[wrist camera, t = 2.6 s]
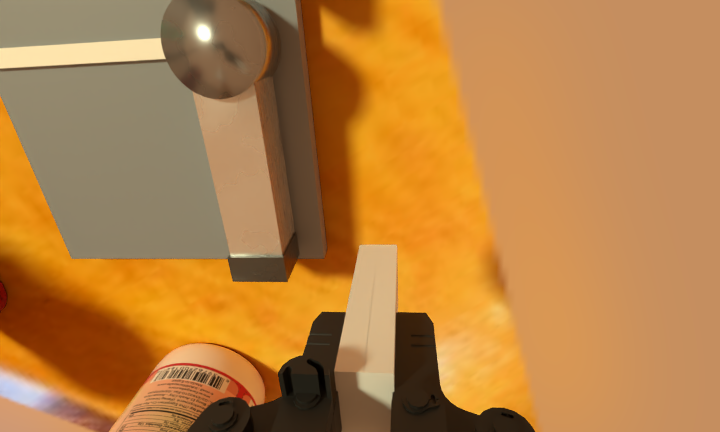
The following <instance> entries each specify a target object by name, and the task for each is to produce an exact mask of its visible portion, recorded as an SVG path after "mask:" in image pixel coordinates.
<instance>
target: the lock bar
mask: <svg viewBox="0 0 720 432" xmlns="http://www.w3.org/2000/svg"><path fill="white" fill-rule="evenodd" d="M161 44H162V49H163V53H164V56H165V58H166V61H167V63H168V65H169V67H170V68H171V70H172V72H173V73H174V74H175V76H176V77H177V78H178V79H179V80H180V81H181V82H182V83H183V84H184V85H185V86H186V87H187V88H189V89H190V90H191V91H192V92H193V96H194V101H195V105H196V109H197V113H198V118H199V122H200V126H201V131H202V135H203V139H204V144H205V148H206V152H207V157H208V161H209V165H210V169H211V174H212V178H213V182H214V187H215V191H216V195H217V200H218V204H219V208H220V213H221V217H222V221H223V225H224V230H225V234H226V238H227V243H228V247H229V251H230V255H229V256H228V257H227V258H228V262H229V267H230V271H231V275H232V279H233V281H239V282H288V279H289V277H290V275H291V273H292V270H293V268H294V266H295V264H296V261H297V259H298V257H299V255H300V253H299V246H298V239H297V232H295V229H294V222H293V215H292V208H291V202H290V195H289V188H288V181H287V174H286V167H285V160H284V153H283V146H282V139H281V133H280V126H279V119H278V112H277V105H276V98H275V91H274V84H273V77H272V76H273V75H274V73H275V72H276V70H277V68H278V65H279V62H280V58H281V39H280V34H279V31H278V28H277V26H276V23H275V21H274V20H273V18H272V16H271V15H270V14H269V12H268V11H267V10H266V9H265V8H264V7H263V6H262V5H261V4H259V3H258V2H257V1H255V0H172V1H171V2H170V4H169V5H168V7H167V9H166V11H165V13H164V15H163V19H162V23H161Z"/></svg>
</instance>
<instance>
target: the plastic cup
mask: <svg viewBox="0 0 720 432" xmlns="http://www.w3.org/2000/svg"><path fill="white" fill-rule="evenodd" d="M6 301H7V294H6V291H5V289H4V286H3V284H2V283H1V282H0V312H1V310H2V309H3V308H4V307H5V306H6Z"/></svg>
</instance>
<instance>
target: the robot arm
mask: <svg viewBox="0 0 720 432" xmlns="http://www.w3.org/2000/svg"><path fill="white" fill-rule="evenodd" d="M278 377H279V382H280V387H281V392H282V396H281V397H280V398H278V399H276V400H274V401H271V402H268V403H264V404H260V405H256V406H252V407H249V405H248V404H247V402H246V401H245V400H243V399H241V398H239V397H227V398H223V399H219V400H218V401H216V402H214V403H212V404H210V405H209V406H208V407H207V408H206V409H205V410H204V411H203V412H202V413H201V414H200V415H199V417H198V418H197V419H196V420H195V422H194V423H193V424H192V425H191V427H190V428H189V429H188V430H187V431H186V432H535V431H534V429H533V427H532V426H531V425H530V424H529V423H528V421H527V420H526V419H525V418H524V417H522V416H521V415H519V414H518V413H516V412H515V411H512V410H509V409H506V408H490V409H488V410H485V411H483V412H482V413H481V414H480V415H477V414H474V413H471V412H468V411H465V410H463V409H460V408H458V407H456V406H455V405H454V404H452V403H451V402H450V401H449V400H448V399H447V398H446V397H445V396H444V394H443V392H442V390H441V386H440V380H439V371H438V362H437V353H436V344H435V335H434V325H433V322H432V321H431V319H430V318H429V317H428V315H427V314H426V313H406V312H398V277H397V245H360V246H359V251H358V256H357V261H356V266H355V271H354V276H353V281H352V286H351V291H350V295H349V300H348V305H347V310H346V312H322V313H321V314H320V315H319V316H318V317H317V318H316V319H315V320H314V321H313V324H312V327H311V331H310V336H309V337H308V340H307V345H306V347H305V350H304V353H303V356H298V357H295V358H293V359H291V360H289V361H288V362H287V363H285V364H284V365H283V366H282V367H281V369H280V371H279V372H278Z"/></svg>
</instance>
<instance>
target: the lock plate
mask: <svg viewBox="0 0 720 432" xmlns="http://www.w3.org/2000/svg"><path fill="white" fill-rule="evenodd" d="M171 1H172V0H0V96H1V98H2V100H3V103H4V105H5V107H6V109H7V112H8V114H9V116H10V119H11V121H12V123H13V125H14V128H15V130H16V132H17V135H18V137H19V139H20V141H21V144H22V146H23V148H24V151H25V153H26V155H27V157H28V160H29V162H30V164H31V167H32V169H33V171H34V173H35V176H36V178H37V180H38V183H39V185H40V187H41V189H42V192H43V194H44V196H45V199H46V201H47V203H48V205H49V208H50V210H51V212H52V215H53V217H54V219H55V221H56V224H57V226H58V228H59V231H60V233H61V235H62V237H63V240H64V242H65V244H66V247H67V249H68V251H69V253H70V256H71V258H72V259H228V258H227V257H228V256H229V255H230V251H229V247H228V243H227V238H226V234H225V230H224V225H223V221H222V217H221V213H220V208H219V204H218V200H217V195H216V191H215V187H214V182H213V178H212V174H211V169H210V165H209V161H208V157H207V152H206V148H205V144H204V139H203V135H202V131H201V126H200V122H199V118H198V113H197V109H196V105H195V101H194V96H193V92H192V91H191V90H190V89H189V88H187V87H186V86H185V85H184V84H183V83H182V82H181V81H180V80H179V79H178V78H177V77H176V76H175V74H174V73H173V72H172V70H171V68H170V67H169V65H168V63H167V61H166V58H165V56H164V53H163V49H162V44H161V23H162V19H163V15H164V13H165V11H166V9H167V7H168V5H169V4H170V2H171ZM255 1H257V2H258V3H259V4H261V5H262V6H263V7H264V8H265V9H266V10H267V11H268V12H269V14H270V15H271V16H272V18H273V20H274V21H275V23H276V26H277V28H278V31H279V34H280V39H281V58H280V62H279V65H278V68H277V70H276V72H275V73H274V75H273V76H272V77H273V84H274V91H275V98H276V105H277V112H278V119H279V126H280V133H281V139H282V146H283V153H284V160H285V167H286V174H287V181H288V188H289V195H290V202H291V208H292V215H293V222H294V229H295V232H297V239H298V246H299V253H300V255H299V257H298V259H324V258H325V255H326V252H327V243H326V233H325V224H324V215H323V205H322V196H321V187H320V177H319V168H318V159H317V149H316V140H315V131H314V121H313V112H312V103H311V93H310V84H309V75H308V65H307V56H306V47H305V37H304V28H303V19H302V9H301V0H255Z"/></svg>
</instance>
